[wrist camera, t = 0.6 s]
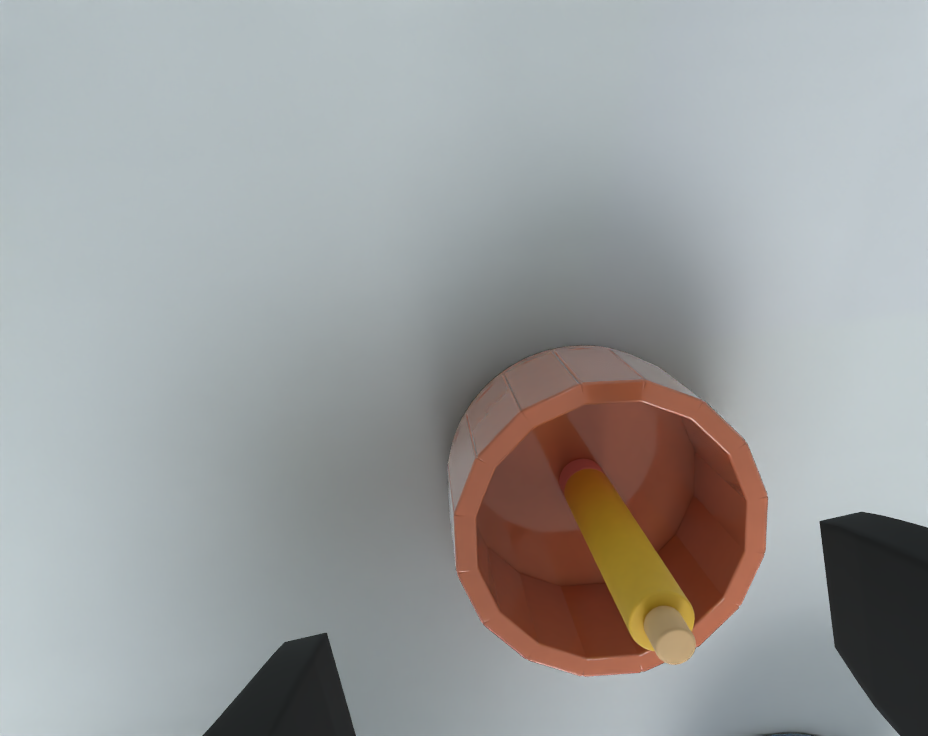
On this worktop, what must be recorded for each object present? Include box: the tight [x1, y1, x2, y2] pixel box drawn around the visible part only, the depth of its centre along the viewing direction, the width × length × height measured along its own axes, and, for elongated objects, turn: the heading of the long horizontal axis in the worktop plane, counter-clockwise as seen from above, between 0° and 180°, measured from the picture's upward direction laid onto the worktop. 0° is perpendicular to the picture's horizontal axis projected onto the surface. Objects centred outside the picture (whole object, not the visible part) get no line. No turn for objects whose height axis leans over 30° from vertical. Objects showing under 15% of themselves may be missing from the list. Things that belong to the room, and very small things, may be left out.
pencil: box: [559, 459, 696, 665], centre depth 18 cm, size 1×1×8 cm
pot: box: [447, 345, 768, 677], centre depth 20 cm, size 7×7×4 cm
